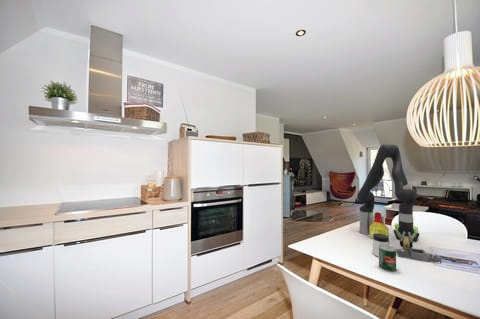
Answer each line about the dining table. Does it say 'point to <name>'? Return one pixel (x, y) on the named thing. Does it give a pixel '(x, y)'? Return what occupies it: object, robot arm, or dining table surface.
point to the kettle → (399, 232)
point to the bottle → (378, 226)
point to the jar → (379, 242)
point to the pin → (406, 243)
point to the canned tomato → (387, 258)
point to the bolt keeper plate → (418, 255)
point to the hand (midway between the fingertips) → (406, 247)
